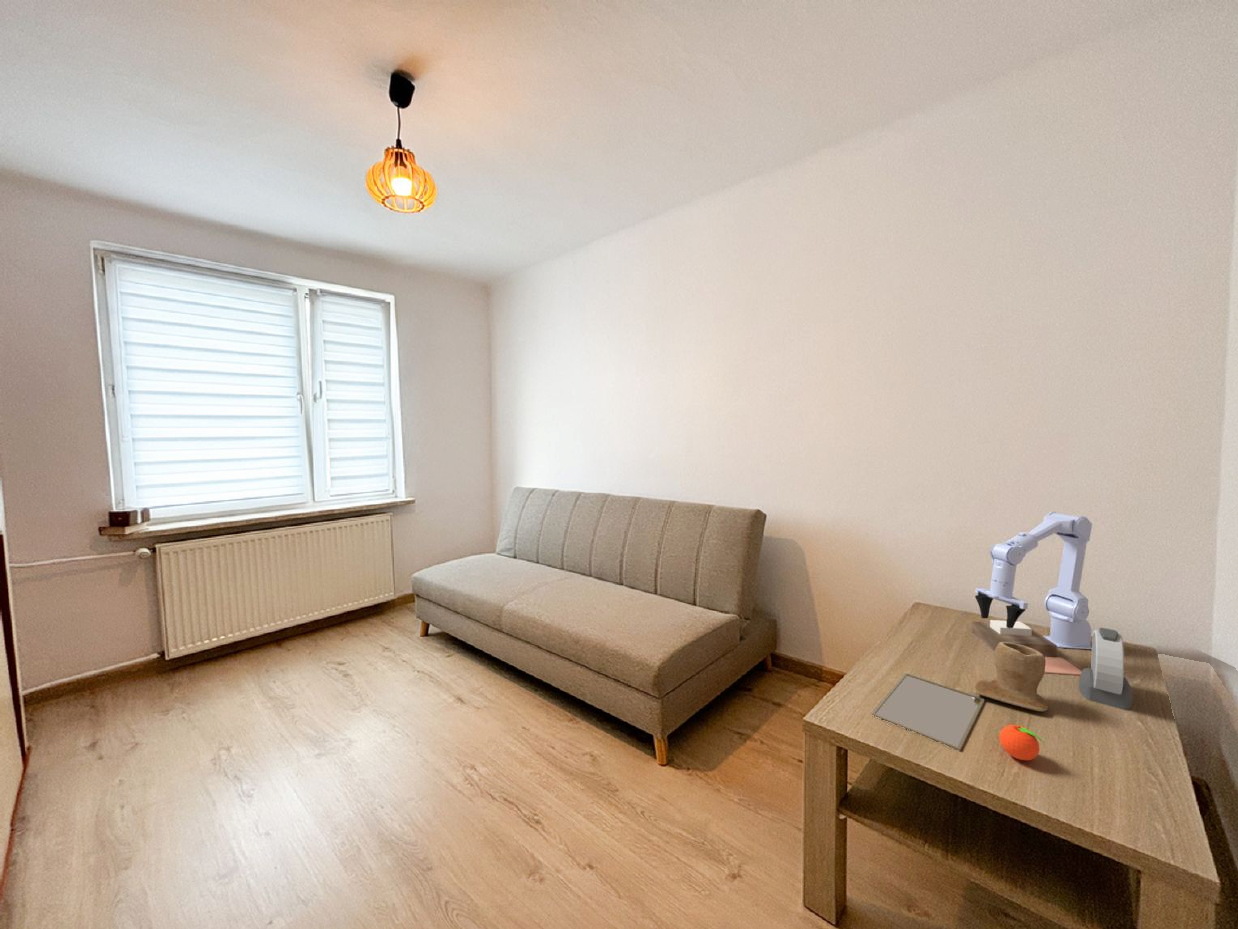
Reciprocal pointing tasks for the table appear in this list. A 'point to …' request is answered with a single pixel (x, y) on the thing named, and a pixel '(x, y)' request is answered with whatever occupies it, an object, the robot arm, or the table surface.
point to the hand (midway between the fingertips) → (996, 622)
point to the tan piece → (1016, 677)
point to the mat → (1060, 667)
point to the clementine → (1019, 742)
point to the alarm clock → (1106, 672)
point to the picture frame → (931, 710)
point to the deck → (1014, 639)
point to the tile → (1016, 630)
